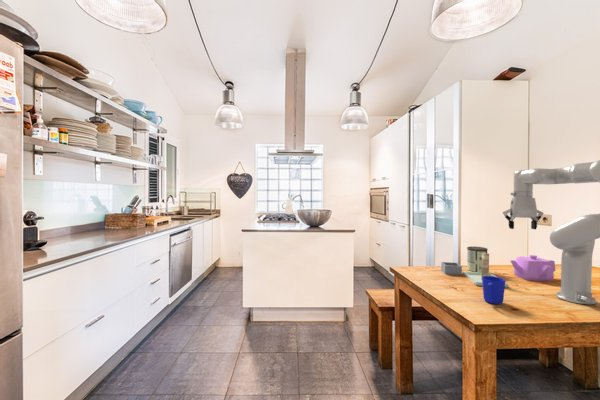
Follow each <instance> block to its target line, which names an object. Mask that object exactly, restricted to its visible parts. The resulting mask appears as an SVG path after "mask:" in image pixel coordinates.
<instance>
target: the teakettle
mask: <svg viewBox="0 0 600 400" xmlns="http://www.w3.org/2000/svg"><path fill="white" fill-rule="evenodd" d="M510 263H511V265H512V266H513V273H514V276H516V277H518V278H521V279H523V280H525V279H526V281H532V280H534V281H535V282H552V281H553V280H554V277H555V272H556V261H555V260H552V259H545V258H541V257H538V255H534V254H530V255H529V256H517V257H516V258H515V260H514V259H513V260H512V259H511V260H510ZM534 281H533V282H534Z"/></svg>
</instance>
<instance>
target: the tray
mask: <svg viewBox="0 0 600 400" xmlns="http://www.w3.org/2000/svg"><path fill="white" fill-rule="evenodd" d="M462 275H464V276H465V277H466V278H467V279H469V280H470V281H471V282H473V284H474V285H475V286H477V287H483V284H482V280H481V275H482V273H480V272H471V271H462ZM489 276H494V277H497V276H496V275H495V274H493V273H491V272H489ZM505 288H506V289H508V288H509V283H507V282H506V281H505Z"/></svg>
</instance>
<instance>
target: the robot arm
mask: <svg viewBox="0 0 600 400" xmlns="http://www.w3.org/2000/svg"><path fill="white" fill-rule="evenodd" d="M587 183H599V184H600V159H598V160H597V161H592V162H591V161H590V162H580V163H575V164H573V165H572V166H567V167H559V168H558V167H557V168H538V167H537V168H532V169H519V170H516V171H514V172H513V190H512V192H510V196H513V197H512V198H511V200H510V207H509V209H507V210H504V211H502V214H503V215H504V218H505V219H506V220H507V221H508V227H509V229H511V230H513V229H515V221H514V220H515V219H516V218H523V219H525V218H529V219H531V221H530V229H531V230H537V227H538V222H539V221H540V220H541V218H542V217H543V215H544V212H543V211H540V210H538V209H537V202H536V198H535V197H533V195H534V194H533V191H534V187H533V186H534V185H562V184H587ZM509 215H510V216H509ZM597 239H600V213H589V214H585V215H582V216H579V217H577V218H575V219H573V220H571V221H568V222H567V223H565V224H562V225H561V226H559V227H556V228H555V229H554V230H553V231H552V232H551V233H550V236H549V241H550V243H551V245H552V247H554V248H556V249H559V250H562V252H561V261H560V267H561V268H560V291H558V292H556V293H555V296H556V297H557V298H559V299H560V300H563V301H566V302H570V303H573V304H574V303H575V304H579V305H596V304H597V300H596V298H594V297H593V292H592V274H593V273H592V270H593V269H592V267H593V252H594V249H595V244H596V240H597Z"/></svg>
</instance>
